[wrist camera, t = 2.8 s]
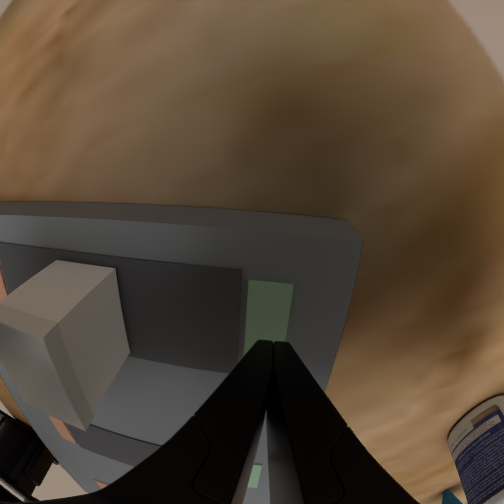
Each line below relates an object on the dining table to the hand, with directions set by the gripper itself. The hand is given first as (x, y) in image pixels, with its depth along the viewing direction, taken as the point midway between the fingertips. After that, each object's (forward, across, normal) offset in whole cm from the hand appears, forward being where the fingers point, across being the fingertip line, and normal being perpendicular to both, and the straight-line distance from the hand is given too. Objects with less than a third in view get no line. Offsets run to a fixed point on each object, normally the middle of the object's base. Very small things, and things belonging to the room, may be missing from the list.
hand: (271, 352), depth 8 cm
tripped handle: (+1, +6, 0) cm, 6 cm away
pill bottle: (+3, -15, +9) cm, 18 cm away
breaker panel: (+3, +7, +11) cm, 13 cm away
